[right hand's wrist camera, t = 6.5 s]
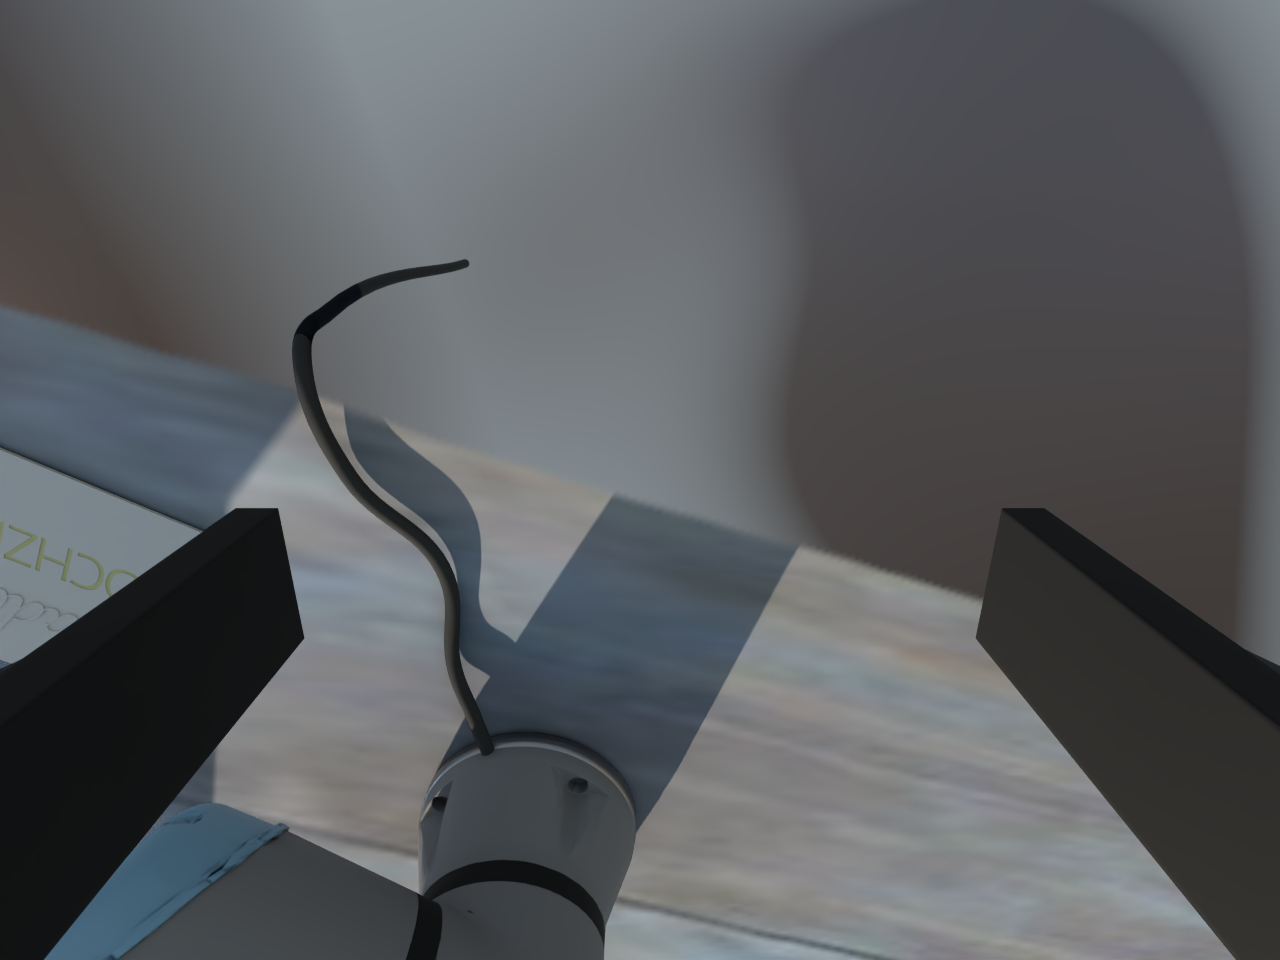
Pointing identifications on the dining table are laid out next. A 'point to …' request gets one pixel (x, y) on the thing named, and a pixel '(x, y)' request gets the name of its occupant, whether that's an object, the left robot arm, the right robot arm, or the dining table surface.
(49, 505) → the invitation card
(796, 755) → the dining table surface
